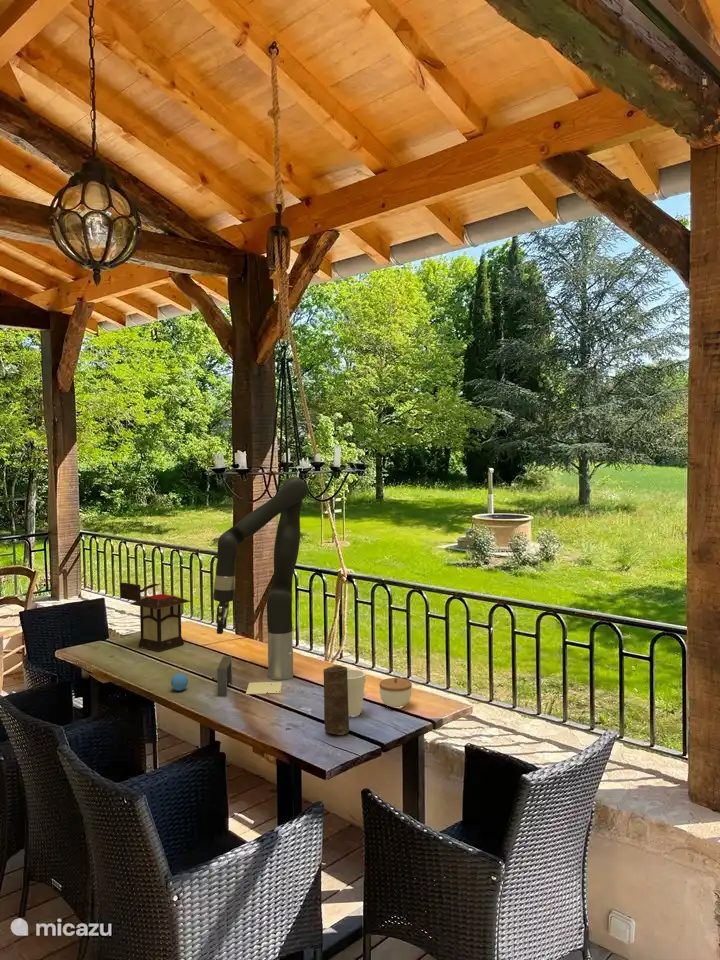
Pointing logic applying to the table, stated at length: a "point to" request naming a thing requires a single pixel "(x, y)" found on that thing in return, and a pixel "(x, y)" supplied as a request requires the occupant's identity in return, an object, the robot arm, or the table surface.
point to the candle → (336, 700)
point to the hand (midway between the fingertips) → (221, 630)
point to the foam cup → (355, 690)
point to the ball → (179, 682)
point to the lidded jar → (395, 691)
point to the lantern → (156, 617)
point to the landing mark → (264, 687)
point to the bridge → (224, 675)
